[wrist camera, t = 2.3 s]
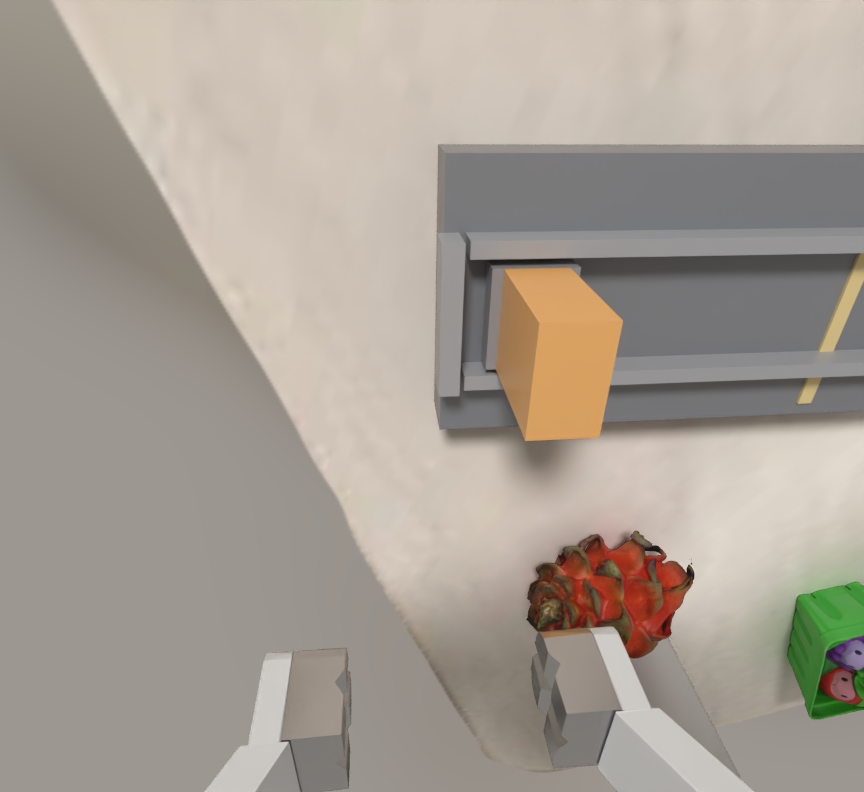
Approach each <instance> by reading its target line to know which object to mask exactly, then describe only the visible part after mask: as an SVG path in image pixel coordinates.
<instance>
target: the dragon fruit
mask: <svg viewBox="0 0 864 792" xmlns="http://www.w3.org/2000/svg"><path fill="white" fill-rule="evenodd" d="M630 537H631V538H633V539H631V540H630V541H628V542H626V543H625V544H624V545H622V546H620V547H619V548H618V549H616V550H610V549H608V548H607V546H606V545H605V544H604V540H603V538H602V537H601V536H600V535H598V534H596V535H591V536H590V537H589V538H587V539H585V540H583V541H582V542H581V544H580V548H579V547H577V546H569V547H565V548H564V552H563V553H562V554H561V555H558V559H557V560H556V563H555V564H554V563H544V564H541V565H540V566H538V567H537V568H536V571H537V573H538V574H539V580H537V581H535V582H533V583H531V585H530V589H529V591H528V597H527V598H528V599H529V600H530V603H531V606H530V608H529V611H528V618H527V619H526V620H528V621H529V623H530V624H531V625H532V626H533V627H534V628H535V629H536V630H537V631H538V632H545V631H556V630H566V629H576V628H595V627H606V626H611V627H614V628H615V629H616V630H617V631H618V633H619V635H620V638H621V640H622V642H623V644H624V647H625V649H626V651H627V654H628V656H629V658H632V659H635V658H641V657H643V656H645V655H647V654H649V653H650V652H652V651H653V650H654V649H655V647H656V646H657V645H658V641H661V640H662V639H666V638H668V637H669V636H670V635H671V633H672V632H671V629H670V626H671V622H672V618H673V616H674V614H675V611H676V610H677V609H678V608H679V607H680V606H681V604H682V602H683V599H684V596H685V594H686V592H687V591H688V590H689V589H690V587H691V586H692V584H693V580H694V571H693V569H692V567H691V566H690V565H688V567H687V573H686V572H685V570H684V569H683V568H682V567H681V566H680V565H679V564H678V563H677V562H674V561H668V562H666V563H664V564H663V563H662V561H663V560H665V559H666V557H667V556H666V553H665V552H664V551H663V550H662V549H661V548H660V547H659V546H656V545H655V546H652V543H650V542H649V541H647V540H646V539H644V536H643V535H640V534H639V532H638V531H634V533H633V534H631V536H630ZM589 542H590V543H589ZM588 543H589V545H588V547H587V550H586V552H584V550H585V548H586V546H587V544H588ZM645 551H656V552H659V553H660V554H661V555H658V556H645ZM691 560H692V559H691ZM691 564H692V563H691Z"/></svg>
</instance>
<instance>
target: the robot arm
mask: <svg viewBox="0 0 864 792" xmlns="http://www.w3.org/2000/svg"><path fill="white" fill-rule="evenodd" d="M535 644H536V648H537V652H538V653H537V654H536V655H535V656H534V657H533V659H532V667H531V671H532V684H533V690H534V695H535V699H536V703H537V707H538V708H539V709H540V710H541V711H542V712H543V713H544V714H545V715H546V716H547V717H546V722H545V727H544V734H545V738H546V742H547V746H548V749H549V753H550V757H551V761H552V764H553V768H564V767H578V766H592V765H598V767H597V768H598V769H599V770H600V772H601V773H602V774H603V775H604V777H605V778H606V779H607V780H608V781H609V783H610V784H611V785H612V786H613V787H614V789H615V790H616V791H617V792H754V791H753V790H752V789H751V788H750V787H748V786H747V785H746V784H745V783H744V782H743V781H742V780H741V779H739V778H738V777H737V776H736V775H735V774H734V773H733V772H731V771H730V770H729V769H728V768H727V767H726V766H725V765H724V764H722V763H721V762H720V761H719V760H718V759H717V758H716V757H714V756H713V755H712V754H711V753H710V752H709V751H708V750H707V749H705V748H704V747H703V746H702V745H701V744H700V743H699V742H697V741H696V740H695V739H694V738H693V737H692V736H691V735H690V734H688V733H687V732H686V731H685V730H684V729H683V728H682V727H681V726H679V725H678V724H677V723H676V722H675V721H674V720H673V719H671V718H670V717H669V716H668V715H667V714H666V713H665V712H664V711H662V710H661V709H660V708H651V705H650V703H649V701H648V699H647V696H646V694H645V692H644V690H643V687H642V685H641V683H640V681H639V678H638V676H637V674H636V672H635V669H634V667H633V665H632V663H631V660H630V658H629V656H628V654H627V651H626V649H625V647H624V644H623V642H622V640H621V638H620V635H619V633H618V631H617V630H616V629H615V628H614V627H611V626H606V627H595V628H576V629H566V630H556V631H545V632H539V633H538V634H537V636H536V641H535ZM350 725H351V677H350V672H349V671H348V651H347V648H332V649H317V650H303V651H284V652H272V653H267V655H266V657H265V659H264V662H263V667H262V672H261V677H260V683H259V688H258V693H257V699H256V704H255V709H254V715H253V720H252V726H251V731H250V736H249V742H248V745H242V746H239V747H238V749H237V750H236V751H235V753H234V754H233V755H232V756H231V758H230V759H229V760H228V762H227V763H226V764H225V766H224V767H223V768H222V770H221V771H220V772H219V774H218V775H217V776H216V778H215V779H214V780H213V781H212V783H211V784H210V786H209V787H208V788H207V789H206V791H205V792H325V791H332V790H341V789H348V788H349V768H350V743H349V734H348V728H349V726H350Z"/></svg>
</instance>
